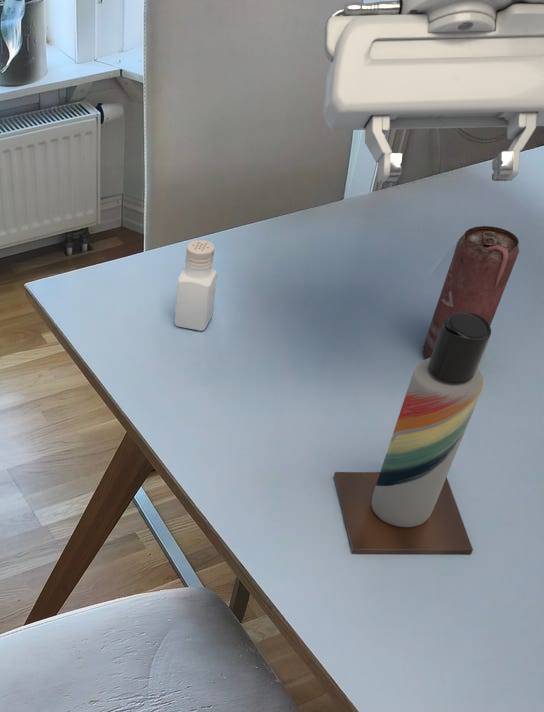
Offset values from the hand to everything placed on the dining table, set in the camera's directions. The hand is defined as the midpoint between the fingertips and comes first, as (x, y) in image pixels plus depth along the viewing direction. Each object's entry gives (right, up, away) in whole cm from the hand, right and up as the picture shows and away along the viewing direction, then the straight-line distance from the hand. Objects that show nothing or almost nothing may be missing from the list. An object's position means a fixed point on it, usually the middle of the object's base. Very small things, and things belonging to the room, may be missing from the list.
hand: (446, 179), depth 73 cm
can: (+13, -6, +29) cm, 32 cm away
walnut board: (+1, -26, +13) cm, 29 cm away
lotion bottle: (+1, -26, +13) cm, 29 cm away
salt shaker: (-16, +1, +35) cm, 38 cm away
